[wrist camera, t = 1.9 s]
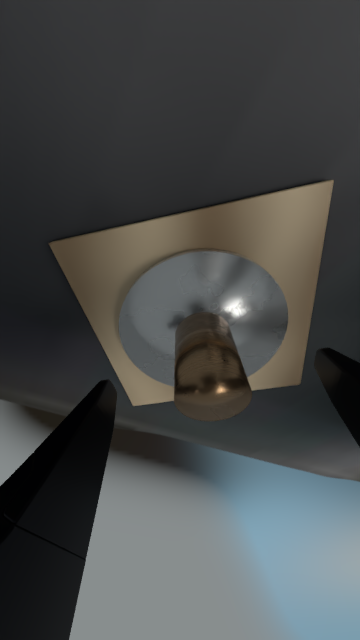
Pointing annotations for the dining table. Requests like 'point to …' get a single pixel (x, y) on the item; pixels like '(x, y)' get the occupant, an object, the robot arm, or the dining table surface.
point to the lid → (204, 328)
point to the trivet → (205, 232)
